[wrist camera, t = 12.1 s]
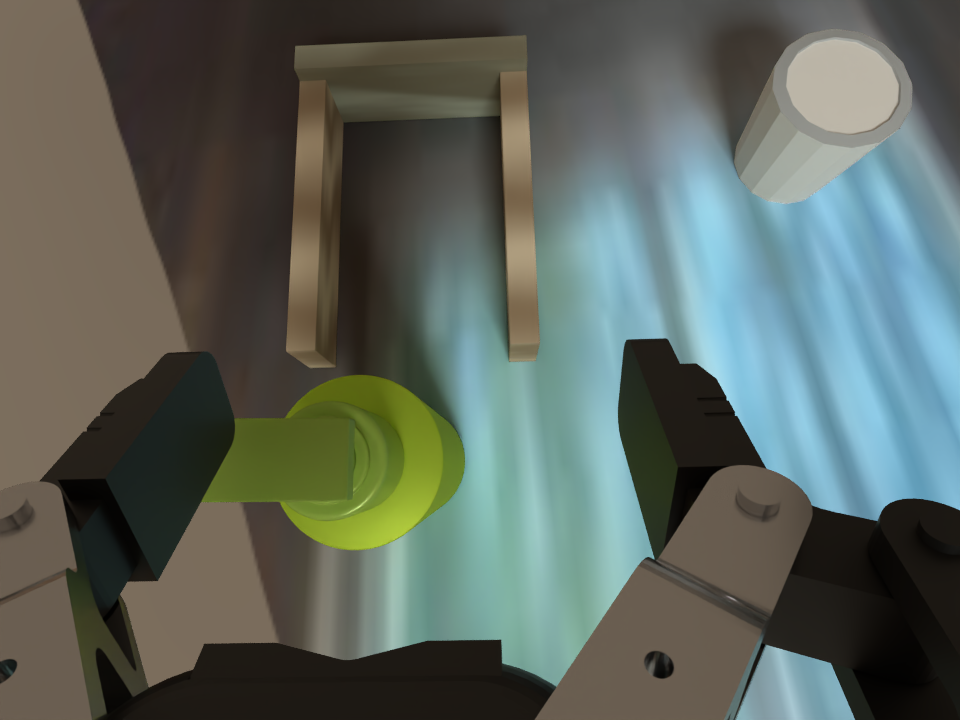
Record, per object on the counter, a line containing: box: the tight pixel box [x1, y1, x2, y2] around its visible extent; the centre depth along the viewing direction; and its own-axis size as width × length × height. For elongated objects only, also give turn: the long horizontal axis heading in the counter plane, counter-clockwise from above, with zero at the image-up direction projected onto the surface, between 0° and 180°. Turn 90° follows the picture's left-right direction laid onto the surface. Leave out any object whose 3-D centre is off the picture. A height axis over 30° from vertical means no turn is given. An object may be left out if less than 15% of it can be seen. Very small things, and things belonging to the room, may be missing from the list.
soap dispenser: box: [201, 375, 465, 550], centre depth 24 cm, size 6×7×20 cm
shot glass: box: [734, 29, 912, 204], centre depth 34 cm, size 7×7×7 cm
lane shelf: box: [286, 35, 540, 368], centre depth 34 cm, size 18×13×5 cm
